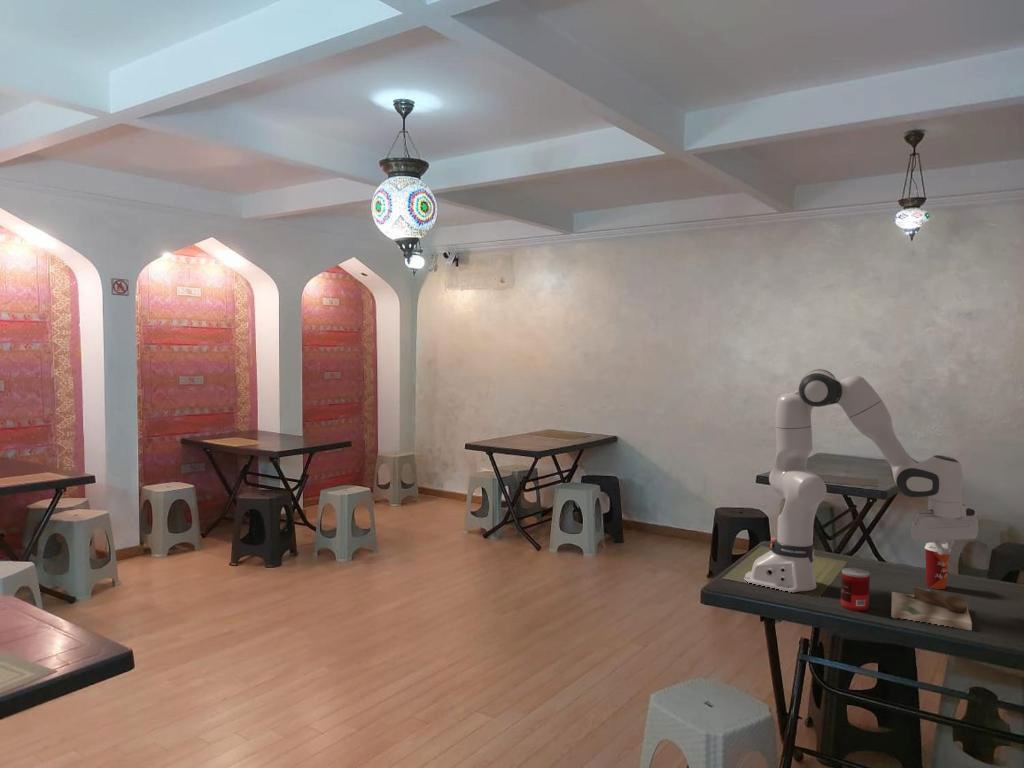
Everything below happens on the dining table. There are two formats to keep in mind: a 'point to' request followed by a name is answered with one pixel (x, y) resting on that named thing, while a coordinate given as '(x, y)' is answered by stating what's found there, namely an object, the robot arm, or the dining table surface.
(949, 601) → the wooden spoon
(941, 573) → the paper cup
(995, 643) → the dining table surface
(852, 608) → the canned food
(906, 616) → the cream flat square slab
